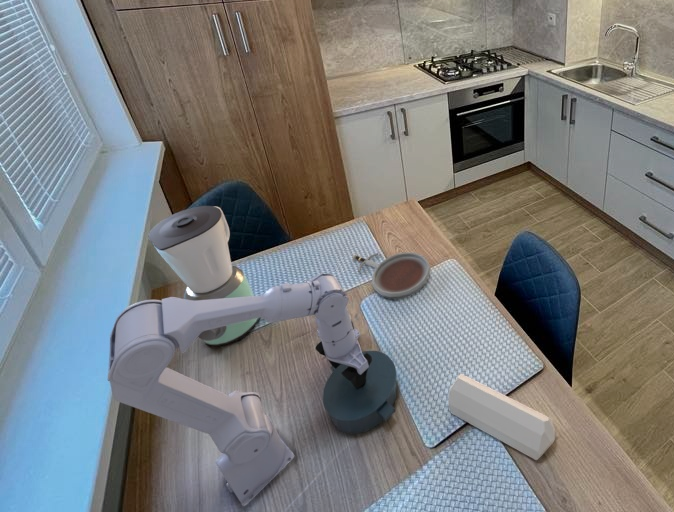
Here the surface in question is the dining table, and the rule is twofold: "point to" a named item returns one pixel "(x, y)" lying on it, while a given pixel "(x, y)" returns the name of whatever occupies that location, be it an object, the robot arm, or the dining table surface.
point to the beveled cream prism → (501, 417)
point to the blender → (203, 263)
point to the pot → (370, 420)
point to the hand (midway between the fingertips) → (349, 374)
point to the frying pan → (398, 274)
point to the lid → (360, 390)
